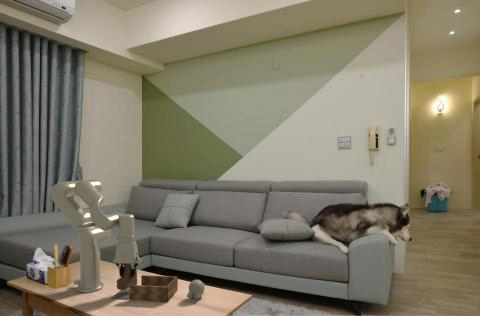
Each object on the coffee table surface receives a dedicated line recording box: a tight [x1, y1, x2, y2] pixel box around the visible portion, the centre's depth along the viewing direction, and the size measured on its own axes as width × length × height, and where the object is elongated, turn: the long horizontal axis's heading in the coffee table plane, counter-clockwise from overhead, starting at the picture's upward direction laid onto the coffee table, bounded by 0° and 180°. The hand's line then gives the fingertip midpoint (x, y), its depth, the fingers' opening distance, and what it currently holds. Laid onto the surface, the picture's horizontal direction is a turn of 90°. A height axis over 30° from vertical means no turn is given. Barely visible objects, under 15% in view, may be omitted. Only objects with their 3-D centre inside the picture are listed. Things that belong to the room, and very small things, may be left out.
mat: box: [110, 288, 129, 301], centre depth 159 cm, size 9×12×1 cm
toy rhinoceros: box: [186, 279, 206, 300], centre depth 155 cm, size 7×12×8 cm, turn 160°
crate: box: [128, 274, 179, 303], centre depth 157 cm, size 19×14×7 cm
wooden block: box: [116, 261, 138, 291], centre depth 160 cm, size 9×4×18 cm, turn 148°
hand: (127, 275), depth 159 cm, fingers closed on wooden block, 5 cm apart
